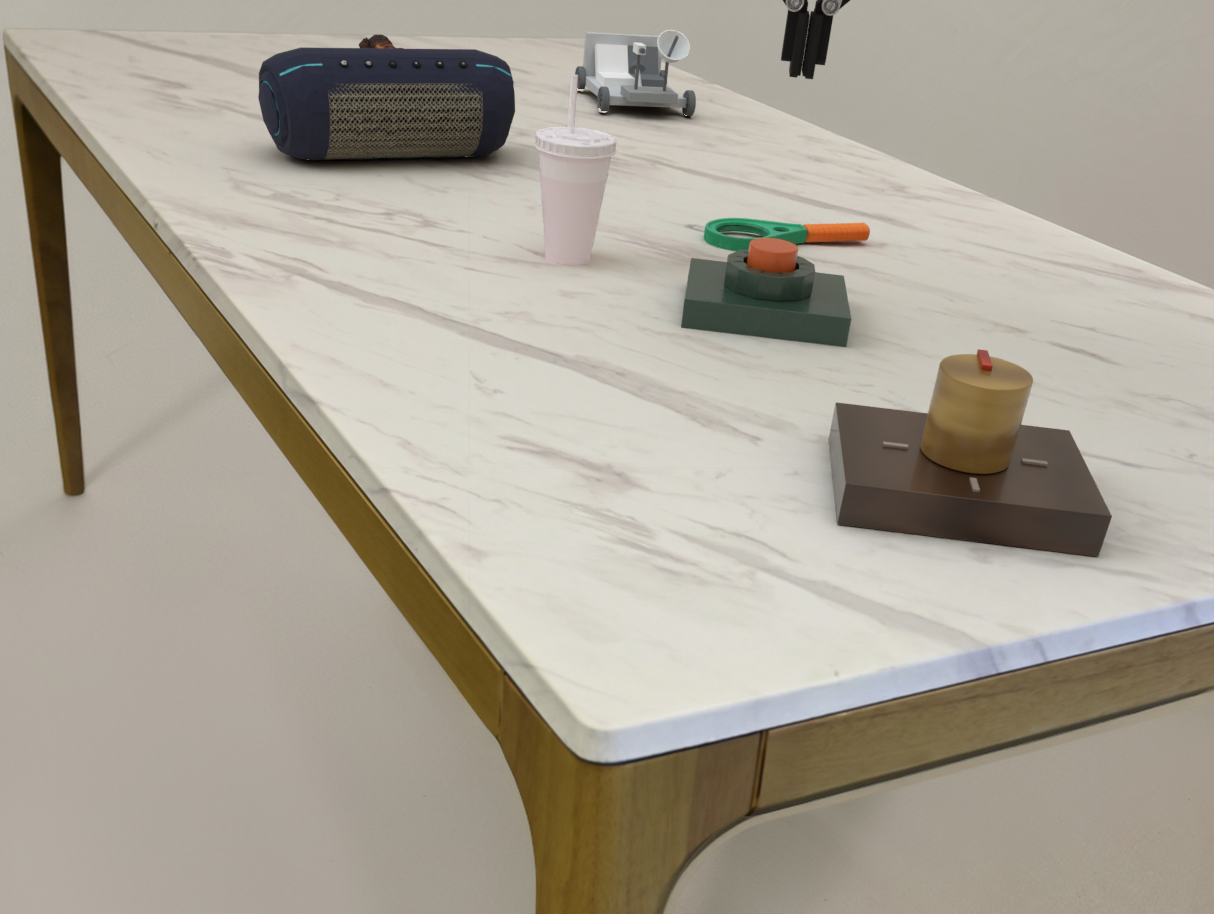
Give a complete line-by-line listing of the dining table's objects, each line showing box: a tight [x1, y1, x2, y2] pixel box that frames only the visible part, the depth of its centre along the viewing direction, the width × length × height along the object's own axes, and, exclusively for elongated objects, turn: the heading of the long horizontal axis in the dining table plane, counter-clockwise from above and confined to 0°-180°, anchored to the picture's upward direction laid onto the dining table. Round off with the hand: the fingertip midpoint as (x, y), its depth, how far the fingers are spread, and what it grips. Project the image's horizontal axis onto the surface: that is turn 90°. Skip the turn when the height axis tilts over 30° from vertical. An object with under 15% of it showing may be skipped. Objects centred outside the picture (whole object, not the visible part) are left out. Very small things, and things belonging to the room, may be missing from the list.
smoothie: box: [534, 73, 617, 267], centre depth 99 cm, size 6×6×14 cm
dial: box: [920, 349, 1034, 474], centre depth 70 cm, size 5×5×5 cm
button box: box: [680, 250, 852, 348], centre depth 95 cm, size 12×10×4 cm
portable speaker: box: [257, 47, 516, 161], centre depth 123 cm, size 25×10×10 cm, turn 115°
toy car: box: [574, 29, 697, 117], centre depth 154 cm, size 18×10×12 cm
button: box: [747, 237, 799, 273], centre depth 93 cm, size 4×4×2 cm
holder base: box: [828, 402, 1113, 558], centre depth 72 cm, size 14×11×3 cm
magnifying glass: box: [703, 217, 871, 252], centre depth 112 cm, size 15×6×2 cm, turn 105°
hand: (800, 74), depth 87 cm, fingers closed
